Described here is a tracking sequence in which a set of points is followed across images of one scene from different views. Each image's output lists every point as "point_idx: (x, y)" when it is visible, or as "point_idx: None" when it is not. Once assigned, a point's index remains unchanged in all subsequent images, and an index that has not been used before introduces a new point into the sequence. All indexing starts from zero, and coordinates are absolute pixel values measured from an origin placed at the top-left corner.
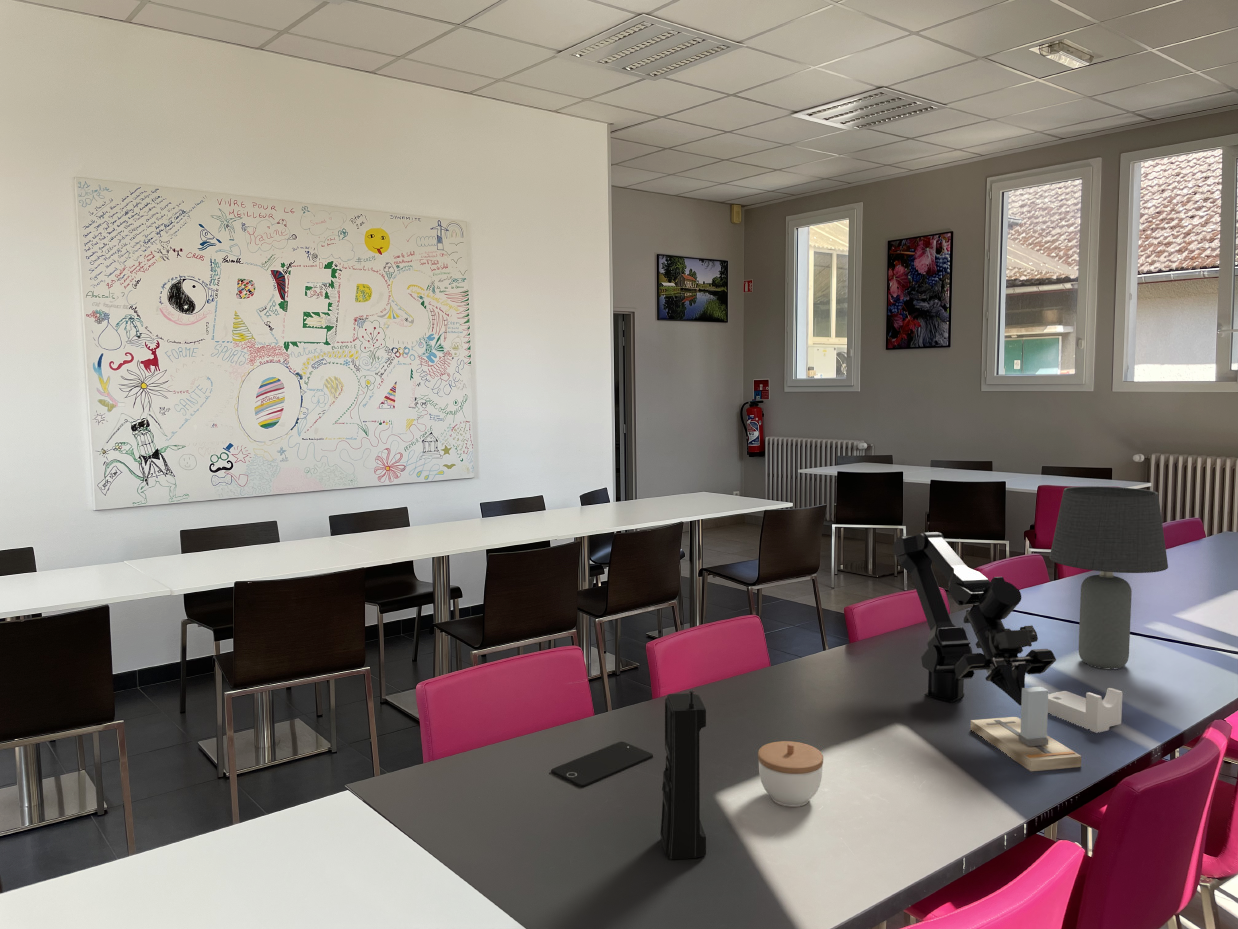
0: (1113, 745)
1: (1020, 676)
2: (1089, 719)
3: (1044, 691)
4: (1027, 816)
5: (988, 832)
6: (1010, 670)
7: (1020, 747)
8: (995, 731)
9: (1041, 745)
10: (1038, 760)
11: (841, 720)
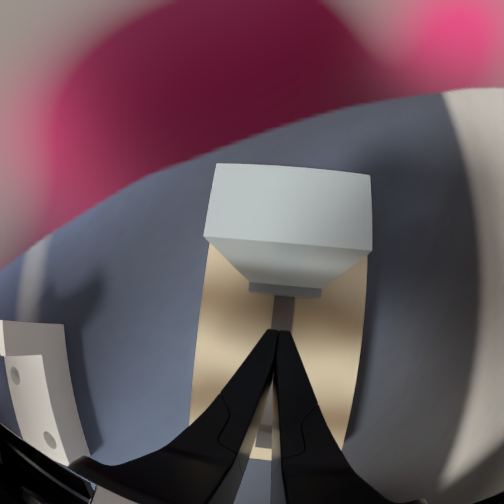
0: (80, 261)
1: (213, 448)
2: (49, 343)
3: (247, 166)
4: (436, 93)
5: (483, 95)
6: (306, 493)
7: None
8: (332, 381)
9: None
10: None
11: (500, 483)
